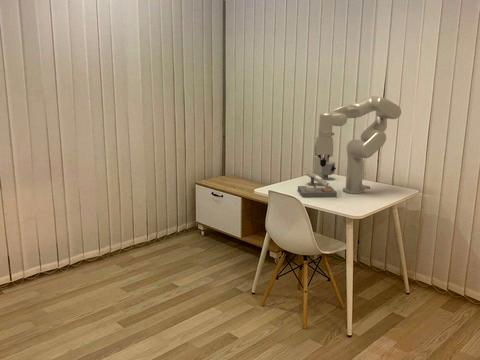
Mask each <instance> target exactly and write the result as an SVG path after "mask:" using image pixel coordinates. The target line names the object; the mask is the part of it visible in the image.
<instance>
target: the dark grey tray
mask: <svg viewBox="0 0 480 360" xmlns="http://www.w3.org/2000/svg"><path fill="white" fill-rule="evenodd" d="M306 186H307V185H297V192H298V193H299V195H300V196H301V198H303V199H305V198H307V199H308V198H311V199H312V198H313V199H315V198H319V199H321V198H323V199H327V198H331V199H332V198H337V197H338V193H337V191H336V190H335V189H334V188H333V187H332V186H331V185H327V186H322V185H315V186H316V188H315V190H314V192H306V191H305V189H306ZM322 188H330V189H331V192H323V191H322Z"/></svg>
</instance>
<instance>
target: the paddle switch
mask: <svg viewBox="0 0 480 360" xmlns="http://www.w3.org/2000/svg"><path fill="white" fill-rule="evenodd" d="M307 186H314V188H316V186H317V185H315V180H314V177H313V176H311V178H310V184H308V185H307Z"/></svg>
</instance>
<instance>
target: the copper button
mask: <svg viewBox="0 0 480 360" xmlns="http://www.w3.org/2000/svg"><path fill="white" fill-rule="evenodd" d="M322 191H323V192H331V189H330V188H322Z"/></svg>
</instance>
